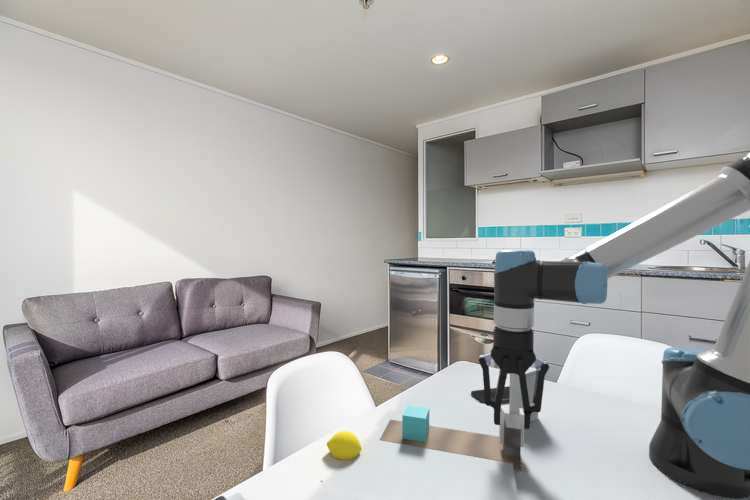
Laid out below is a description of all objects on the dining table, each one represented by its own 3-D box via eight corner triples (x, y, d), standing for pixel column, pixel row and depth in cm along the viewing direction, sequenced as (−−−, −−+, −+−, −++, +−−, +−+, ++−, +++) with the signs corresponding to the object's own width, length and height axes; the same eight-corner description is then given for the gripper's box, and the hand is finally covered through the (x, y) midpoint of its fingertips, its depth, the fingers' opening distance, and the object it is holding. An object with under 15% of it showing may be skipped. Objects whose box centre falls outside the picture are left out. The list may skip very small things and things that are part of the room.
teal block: (429, 430, 81) (429, 408, 81) (425, 442, 76) (425, 418, 76) (407, 426, 82) (407, 405, 82) (402, 438, 77) (402, 415, 77)
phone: (532, 396, 100) (485, 402, 95) (532, 400, 100) (484, 407, 96) (514, 385, 107) (469, 390, 103) (514, 389, 107) (469, 394, 103)
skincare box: (524, 425, 86) (525, 374, 85) (507, 417, 90) (508, 368, 89) (539, 418, 89) (540, 369, 89) (523, 410, 93) (523, 364, 93)
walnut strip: (517, 444, 77) (517, 411, 77) (520, 470, 69) (521, 433, 68) (390, 424, 85) (390, 394, 85) (379, 445, 77) (379, 411, 77)
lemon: (360, 453, 75) (364, 428, 75) (358, 470, 69) (362, 443, 69) (327, 448, 75) (330, 423, 75) (322, 465, 70) (326, 437, 69)
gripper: (554, 325, 74) (551, 438, 75) (472, 319, 79) (470, 426, 79) (561, 334, 67) (558, 459, 67) (471, 327, 71) (469, 444, 72)
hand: (511, 441), depth 73 cm, fingers closed on walnut strip, 3 cm apart
